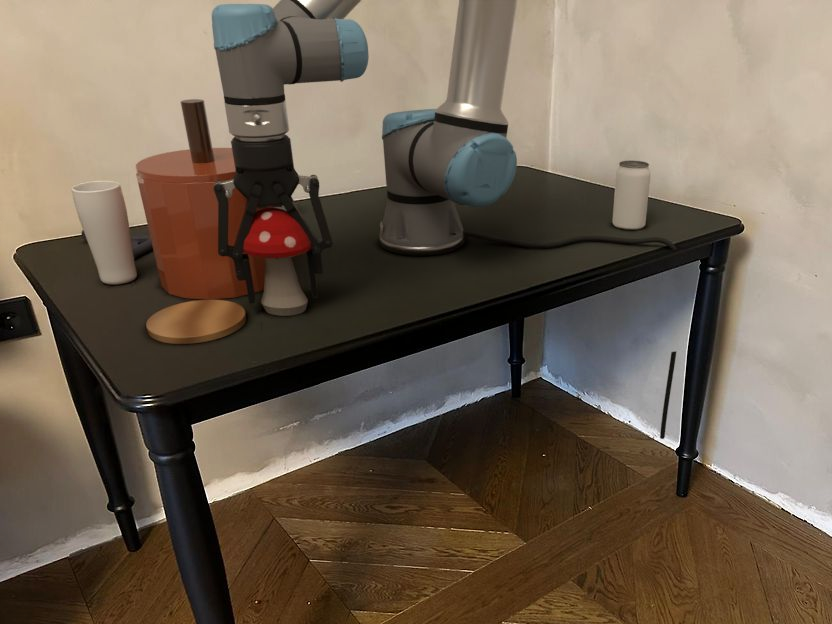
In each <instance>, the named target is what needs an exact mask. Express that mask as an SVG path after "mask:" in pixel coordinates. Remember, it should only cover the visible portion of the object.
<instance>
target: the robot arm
mask: <svg viewBox="0 0 832 624" xmlns="http://www.w3.org/2000/svg"><path fill="white" fill-rule="evenodd" d="M361 2H362V0H280V1H278V3H276V4H275V6H273V7H272V6H270V5H269V4H265V3H223V4H218V5H216V6H215V7H214V8H213V9H212V10H211V29H212V38H213V49H214V50H215V55H216V61H217V66H218V72H219V78H220V83H221V88H222V93H223V100H224V102H223V104H224V108H225V114H226V115H225V116H226V120H227V128H228V132H229V134H230V135H232V136H233V137H232V139H231V141H230V145H231V148H232V152H233V158H234V164H235V171H236V173H235V176H234V179H232V180H228V181H223V182H222V181H220V180H217V181H216V182H215V184H214V192H215V195H216V197H217V200H218V254H219V255H220V256H222V257H223V256H227V257H231V258H232V259H233V261H234V265H235V271H236V277H237V279H238V280H239V281H241V280H246V286H247V292H248V295H247V297H248V303H249V304H250V305H252V304H256V293H254V287H253V281H252V275H251V269H250V263H249V257H248V254H243V251H244V249H243V247H244V240H245V239H246V237H247V236H248V234H249V231H250V228H251V224H252V221H253V218H254V215H255V212H256V209H257V207H259V208H266V207H269V206H273V207H282V206H284V207H285V209H286V210H287V212H288V213H289V214H290V216H291V217H292V218H293V219H295V220H296V221H297V222H298V223H299V224H300V225H301V227H302V229H303V230H304V231H305V233H306V234H307V236H308V238H309V240H310V242H311V249H310V250H309V251H307V252H306V258H307V266H308V274H309V282H310V290H311V297H312V298H319V293H318V288H317V287H318V286H317V277H316V274H317V275H318V274H322V273H323V269H324V268H323V261H322V252H323V250H326V249H329V248H332V247H333V245H334V243H333V239H332V235H331V231H330V229H329V225H328V222H327V219H326V215H325V212H324V208H323V206H322V202H321V198H320V196H319V195H320V194H319V193H320V181H319V177H318V176H317V175H316V174H311V175H310V176H309V175H299V174H298V172H297V171H296V169H295V165H294V157H293V149H292V141H291V138H290V137H289V135H287V133H288V132H289V131H290V126H289V118H288V110H287V103H286V93H285V85H295V84H306V83H322V82H323V83H324V82H341V83H342V82H344V81H346V80H355V79H358V78H361V77H363V75H364V74H365V72H366V70H367V68H368V65H369V58H370V56H369V45H368V39H367V37H366V34H365V31H364V30H363V28H362V27H361V25H360V24H359V22H357V21H355V20H353V19H350V18H346V17H347V16H349V14H350V13H351V12H352V11H353V10H354V8H355V7H356V6H358V5H359V3H361ZM517 6H518V0H458V6H457V15H456V21H455V23H456V24H455V30H454V37H453V38H454V39H453V46H452V53H451V60H450V61H451V62H450V69H449V70H450V71H449V77H448V85H447V92H446V93H447V94H446V99H445V100H444V102H443V103H442V104H441V105H440V106H438V107H437V108H425V109H413V110H403V111H397V112H396V111H395V112H391V113H388V114H386V115H385V116H384V118H383V119H382V127H381V128H382V131H381V140H382V145H383V147H382V148H383V158H384V159H383V160H384V171H385V174H384V175H385V184H386V198H387V200H386V207H385V210H384V213H383V219H382V220H381V221H380V224H379V228H380V229H379V244H380V246H381V247H382V248H383V249H384V250H385V251H388V252H390V253H393V254H398V255H403V256H413V257H414V256H419V257H421V256H422V257H423V256H434V255H441V254H447V253H449V252H452V251H455V250H458V249H459V248H461V247H462V246H463V245H464V244H465V237H467V238H472V239H477V240H478V239H479V240H482V241H486V242H492V243H497V244H502V245H508V246H515V247H521V248H531V249H532V248H533V249H547V248H549V249H550V248H557V247H561V246H566V245H569V244H574V243H578V242H579V243H580V242H607V243H608V242H609V243H616V244H626V245H642V244H649V243H650V244H651V243H658V244H659V243H660V244H663V245H664V246H666V247H668V248H669V249H671V250H675V251H676V250H678V248H677V247H676V245H675V244H674V243H672V242H671V241H670V240H668V239H666V238H665V237H658V236H652V237H651V236H650V237H643V238H642V237H641V238H626V237H616V236H608V235H607V236H606V235H579V236H573V237H568V238H564V239H561V240H557V241H550V242H549V241H548V242H537V241H536V242H533V241H523V240H515V239H508V238H502V237H497V236H493V235H488V234H483V233H479V232H473V231H468V230H464V227H463V225H462V222H461V219H460V215H459V212H458V210H457V207H456V204H457V205H460V206H467V207H471V208H485V207H487V206H491V205H492V204H494V203H496V202H497V201H498V200H499V199H500V198H501V197H503V196H504V195H505V194H506V193H507V192H508V190H509V189H510V187H511V185H512V184H513V181H514V179H515V177H516V172H517V168H518V167H517V166H518V158H517V157H518V156H517V152H516V151H515V150H514V145H513V144H512V143H511V141H510V140H509V139H508V138H507V137H508V128H509V121H508V119H507V117H506V116H505V115H504V113H503V111H502V106H503V105H502V104H503V99H504V98H503V97H504V93H505V92H504V91H505V84H506V78H507V72H508V67H509V66H508V64H509V59H510V52H511V46H512V45H511V44H512V38H513V33H514V26H515V19H516V12H517ZM299 185H301V186H302V189H303V191H304V192H305V193H307V194H308V195H309V200H310V204H311V206H312V210H313V213H314V216H315V219H316V223H317V226H318V229H319V233H320V234H321V237H319V238H317V237H316V235H315V234H314V232H313V231H312V229H311V227H310V225H309V223H308V222H307V221H306V219H305V217H304V216H303V214H302V212H301V211H300V209H299V207H298V206H297V204H296V202H295V200H294V199H293V197H292V196H293V194H294V192H295V191H296V189H297V188H298V186H299ZM234 188H237V190H238V191H239V192H240V193H241V194H242V195H243V196H244V197H245V198H246V199H247V203H246V207H245V211H244V214H243V217H242V221H241V224H240V227H239V231H238V234H237V237H236V241H235V244H234V246H231V245H228V207H229V201H228V198H230V197H231V196H232V190H233V189H234ZM670 352H671V353H670V360H669V365H668V374H667V381H666V387H665V393H664V402H663V409H662V415H661V423H660V434H659V438H660V439H661V440H665V438H666V428H667V420H668V412H669V405H670V397H671V392H672V385H673V379H674V371H675V365H676V358H677V351H670Z"/></svg>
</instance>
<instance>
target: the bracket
mask: <svg viewBox="0 0 832 624" xmlns="http://www.w3.org/2000/svg"><path fill="white" fill-rule="evenodd" d="M130 236H131V243H132V249H133V256H134V260H135V259H137V258H139V257H140V256H142V255H144V254H146V253H148V252H150V251H151V250H153V246H152V242H151V238H150V234H143V235H130ZM81 238H82V239H83V240H84V241H85V242H87V239H86V236H85V234H84V231H83V229H82V230H81Z"/></svg>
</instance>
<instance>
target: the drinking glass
mask: <svg viewBox="0 0 832 624" xmlns="http://www.w3.org/2000/svg"><path fill="white" fill-rule="evenodd" d="M70 190H71V194H72V199H73V203H74V207H75V210H76V214H77V217H78V220H79V223H80V226H81V229H82V230H83V231H84V234H85V236H86V239H87V241H86V242H87V245H88V247H89V249H90V252H91V255H92V258H93V261H94V264H95V266H96V269H97V273H98V276H99V279H100V281H101V282H102V283H104V284H106V285H109V286H110V285H111V286H117V285H118V286H119V285H123V284H128V283H131V282H133V281H134V280H136V278H137V276H138V272H137V268H136V263H135V259H134V256H133V249H132V243H131V236H132V235H131V230H130V223H129V216H128V210H127V205H126V204H127V203H126V201H125V197H124V192H123V190H122V186H121V183H120V182H118V181H116V180H115V181H114V180H92V181H86V182H81V183H78V184H75V185H73V186H72V187H71V188H70Z"/></svg>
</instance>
